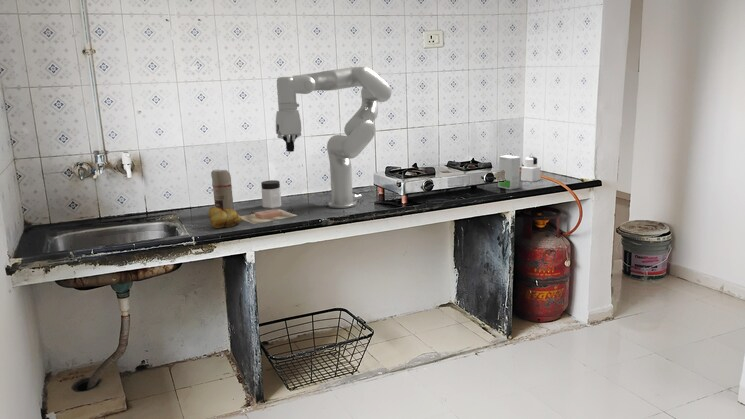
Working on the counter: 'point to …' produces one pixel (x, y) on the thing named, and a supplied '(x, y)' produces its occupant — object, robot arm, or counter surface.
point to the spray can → (222, 189)
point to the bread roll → (223, 217)
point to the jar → (271, 193)
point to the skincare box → (510, 171)
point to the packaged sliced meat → (255, 220)
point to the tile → (268, 214)
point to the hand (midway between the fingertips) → (290, 151)
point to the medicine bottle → (530, 170)
